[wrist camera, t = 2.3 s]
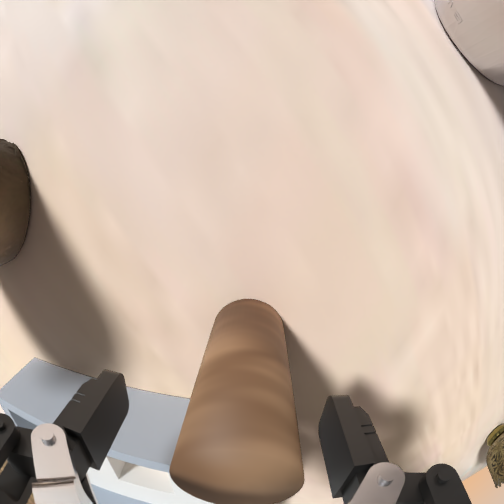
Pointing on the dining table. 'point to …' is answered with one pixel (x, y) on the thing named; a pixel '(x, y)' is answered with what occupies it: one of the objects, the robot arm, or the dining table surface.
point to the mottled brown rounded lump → (496, 455)
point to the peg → (241, 414)
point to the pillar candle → (12, 201)
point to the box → (126, 442)
